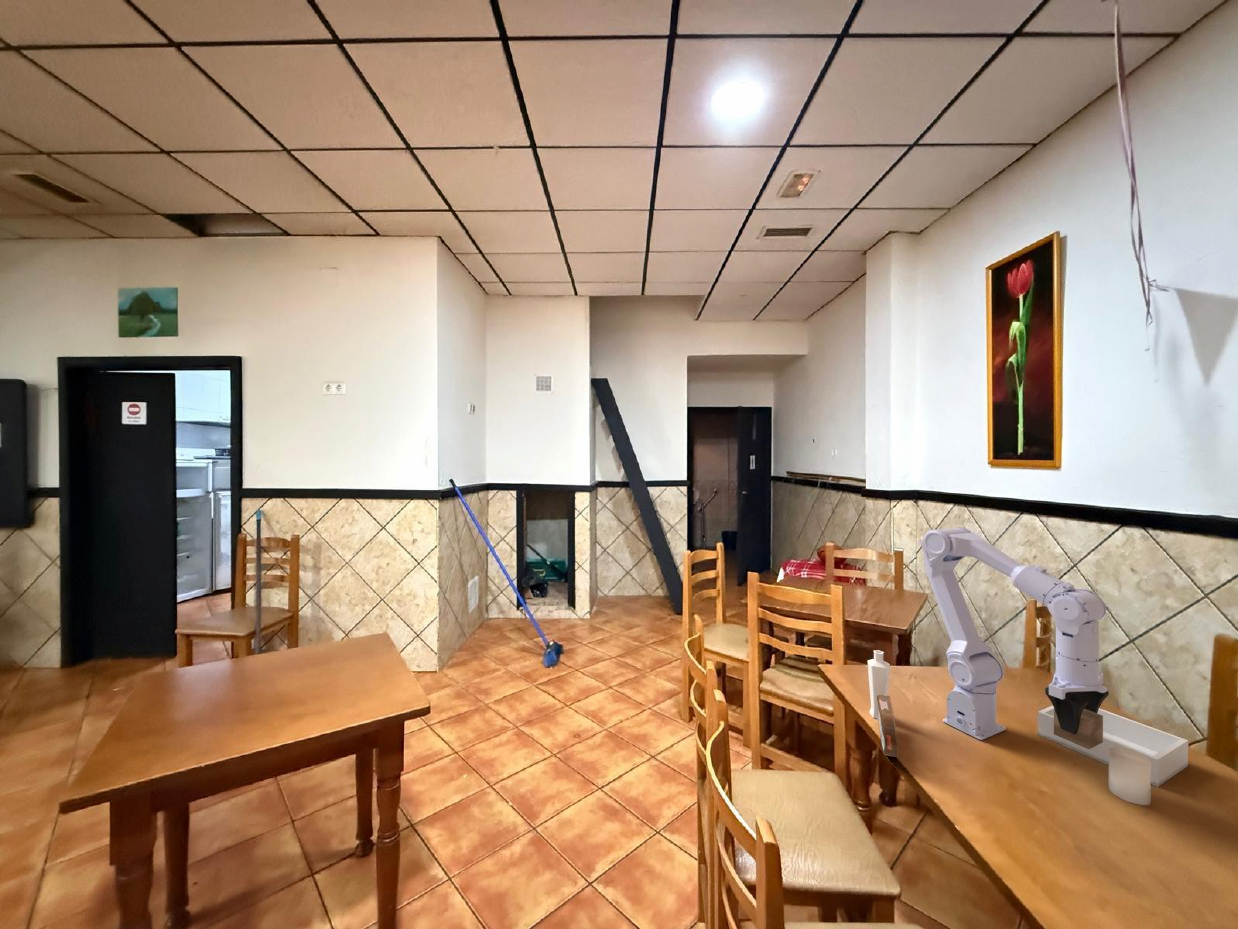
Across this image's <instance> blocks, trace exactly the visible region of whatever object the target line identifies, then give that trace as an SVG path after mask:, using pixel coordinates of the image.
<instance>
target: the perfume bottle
mask: <svg viewBox="0 0 1238 929" xmlns="http://www.w3.org/2000/svg"><path fill="white" fill-rule="evenodd" d="M884 653H885V652H884V651H881V650H879V649H878V650H873V658H872V659H869V660H867V670H868V671H867V672H868V682H869V683H868V685H869V695H870V696H869V698H870V706H871V707H870V710H869V714H870V716H871V718H873V719H877V720H878V712H879V709H878V702H877V695H884V696H889V695H888V694H889V682H890V667H891V665H890V663H888V662H886V661H885V660H884Z"/></svg>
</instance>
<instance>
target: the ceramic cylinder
mask: <svg viewBox="0 0 1238 929" xmlns="http://www.w3.org/2000/svg"><path fill="white" fill-rule="evenodd" d="M1151 785H1152V784H1151V762H1150V760H1149V759H1148V758H1146V757H1145V756H1143V755H1141V754H1139V753H1137V752H1134V751H1132V750H1129V749H1125V748H1120V747H1111V748H1109V766H1108V789H1109V791H1110V792H1111V794H1113V795H1115V796H1116V797H1118V798H1120V799H1122V800H1124V801H1126V802H1129V803H1132V804H1136V805H1139V806H1149V805H1151V803H1152V802H1151V800H1152V799H1151V798H1152V797H1151V796H1152V795H1151V790H1152V789H1151V788H1152V786H1151Z"/></svg>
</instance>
